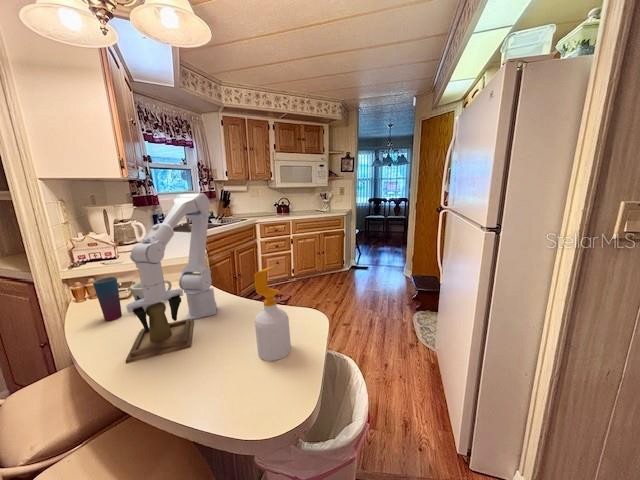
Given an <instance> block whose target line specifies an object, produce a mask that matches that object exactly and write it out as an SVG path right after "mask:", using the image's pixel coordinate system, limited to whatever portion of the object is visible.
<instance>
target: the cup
mask: <svg viewBox="0 0 640 480" xmlns="http://www.w3.org/2000/svg"><path fill="white" fill-rule="evenodd" d="M92 284H93V289H94V291H95V293H96V297H97V301H98V302H99V305H100V309H101V312H102V315H103V318H104V321H106V322H112V321H115V320H118V319H120V318H122V317H123V313H122V305H121V297H120V291H119V285H118V278H117V276H113V275H112V276H111V275H110V276H105V277H101V278H97V279H95V280H93V281H92Z"/></svg>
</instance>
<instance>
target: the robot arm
mask: <svg viewBox="0 0 640 480" xmlns="http://www.w3.org/2000/svg"><path fill="white" fill-rule="evenodd" d="M210 206H211V201H210V199H209V197H208V196H207V194H206V193H204V192H200V193H179V194H177V196H176V197H175V198H174V199H173V205H172V207H171V209H170V210H169V212H168V214H167V215H166V217H164V219H163V221H162V222H161V223H160V222H159V223H156V224H153V225H152V227H151V229H150V231H149V232H148V234H147V235H146V236H145V237H144V238H143V239H142V242H140V243H137V244H135V245H134V246H132V249H131V251H130V254H129V259H130V260H131V262H133V264H135V266H136V267H135V269H138V276H139V280H140V282H141V285H142V290H143V295H144V298H142V299H140V300H137V301H135V300H134V301H133V302H130V303H126V304H125V307H126V311H127V312H128V313H130V314H131V313H133V314H134V315H135V316H136V317H137V318H138V320H139V321H140V322H141V323H140V324H142V326H143V328H144V330H145V331H146V332H147V331H149V324H148V322H147V321H148V320H147V314H146V311H144V309H143V307H146V306H149V305H152V304H155V303H159V302H162V303H163V302H164V301H168V304H169V308H170V314H171V318H172V319H171V320H173V322H177V321H178V320H177V319H178V311H179V308H180V304H181V303H182V297H183V296H184V294H185V296H186V300H187V307H188V308H187V309H188V315H187V319H190V321H191V320H195V319H200V318H205V317H209V316H215V315H217V307H218V305H217V301H216V298H215V297H216V296H215V291H214V287H211V286H212V284H213V283H212V282H213V281H212V280H213V279H212V276H211V275H212V274H211V273H212V271H211V269H210V268H208V266H206V265H205V260H206V249H207V238H208V237H207V236H208V227H209V218H210V208H211V207H210ZM184 217H186V218H187V219H189V220H190V221H191V228H190V229H191V232H190V242H189V250H188V251H189V252H188V262H187V265H186V266H184V267H183V268H182V269H181V275H180V276H179V278H178V285H179V288H176V289H173V290H172V289H171V290H170V291H167V289H166V283H164V280H165V278H164V272H163V268H162V267H163V266H162V262H161V261H162V260H163V259H164V258H165V250H166V248H167V245H168V243H169V242H170V241H171V240H172V238H173V237H174V235H175V232H174V229H175V227H176V226H177V225H178V224H179V223H180V221H181V220H182V219H183V218H184Z"/></svg>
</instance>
